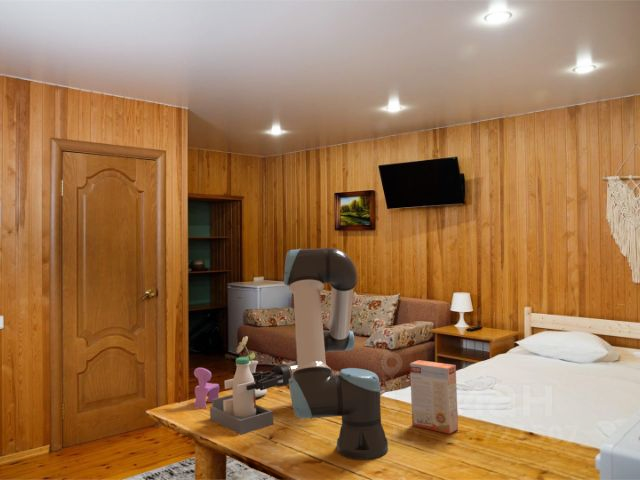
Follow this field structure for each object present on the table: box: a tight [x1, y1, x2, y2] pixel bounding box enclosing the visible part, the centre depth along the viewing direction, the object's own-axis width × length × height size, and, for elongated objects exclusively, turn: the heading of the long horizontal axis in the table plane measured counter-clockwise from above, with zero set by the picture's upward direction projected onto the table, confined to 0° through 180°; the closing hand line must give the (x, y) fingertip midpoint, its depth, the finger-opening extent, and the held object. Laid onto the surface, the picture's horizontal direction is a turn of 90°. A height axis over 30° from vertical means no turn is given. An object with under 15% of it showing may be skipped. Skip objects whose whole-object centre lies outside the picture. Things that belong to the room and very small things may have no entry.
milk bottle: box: [232, 356, 257, 419], centre depth 184 cm, size 8×8×20 cm
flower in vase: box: [236, 335, 268, 398], centre depth 216 cm, size 13×11×25 cm
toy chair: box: [192, 367, 220, 410], centre depth 207 cm, size 8×9×15 cm
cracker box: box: [409, 359, 459, 435], centre depth 174 cm, size 14×6×21 cm, turn 47°
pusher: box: [223, 398, 234, 416], centre depth 188 cm, size 2×10×7 cm, turn 130°
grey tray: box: [209, 393, 274, 435], centre depth 186 cm, size 20×13×7 cm, turn 40°
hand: (231, 387), depth 181 cm, fingers closed on milk bottle, 7 cm apart
